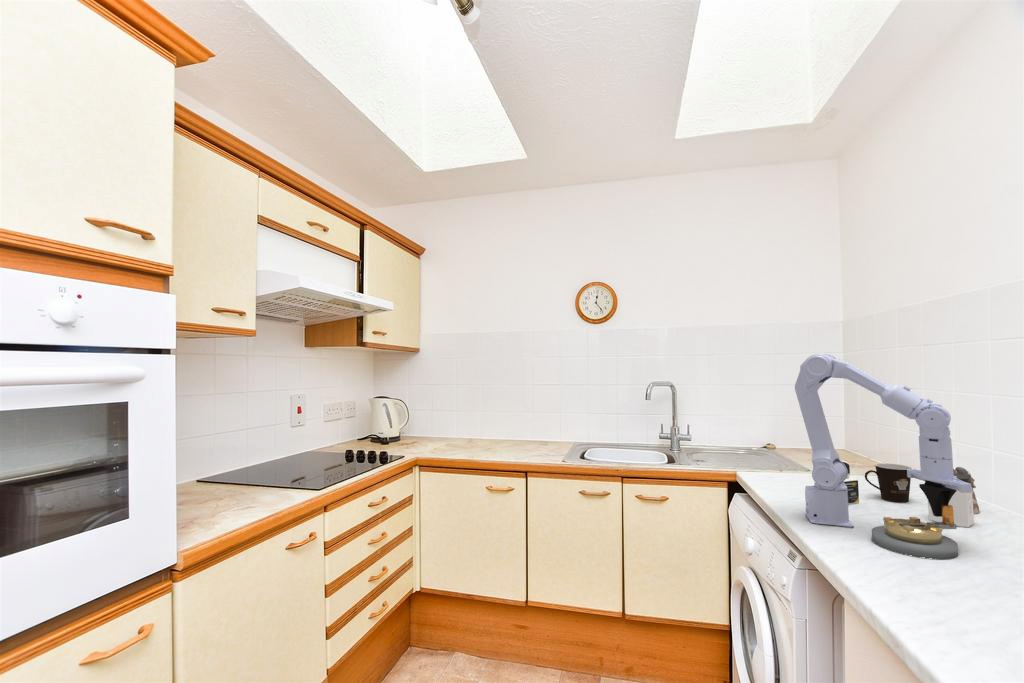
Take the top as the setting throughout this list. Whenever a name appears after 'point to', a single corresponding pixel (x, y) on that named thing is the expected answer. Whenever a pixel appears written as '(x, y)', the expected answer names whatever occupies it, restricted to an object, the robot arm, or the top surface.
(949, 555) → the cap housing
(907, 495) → the coffee mug
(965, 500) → the jar
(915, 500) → the top surface
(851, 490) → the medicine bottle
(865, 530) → the top surface
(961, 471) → the figurine
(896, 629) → the top surface
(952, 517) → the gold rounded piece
